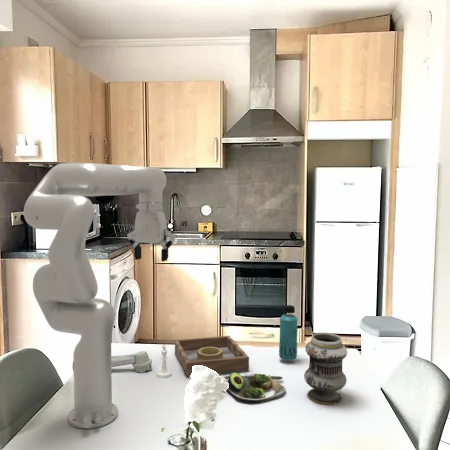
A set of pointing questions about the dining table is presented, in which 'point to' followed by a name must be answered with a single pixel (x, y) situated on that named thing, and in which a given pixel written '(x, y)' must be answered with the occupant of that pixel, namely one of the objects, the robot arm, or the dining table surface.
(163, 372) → the chess piece
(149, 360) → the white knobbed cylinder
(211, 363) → the socket box
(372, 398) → the dining table surface
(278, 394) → the avocado toast plate
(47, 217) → the robot arm
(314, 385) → the apothecary jar
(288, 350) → the beverage bottle
